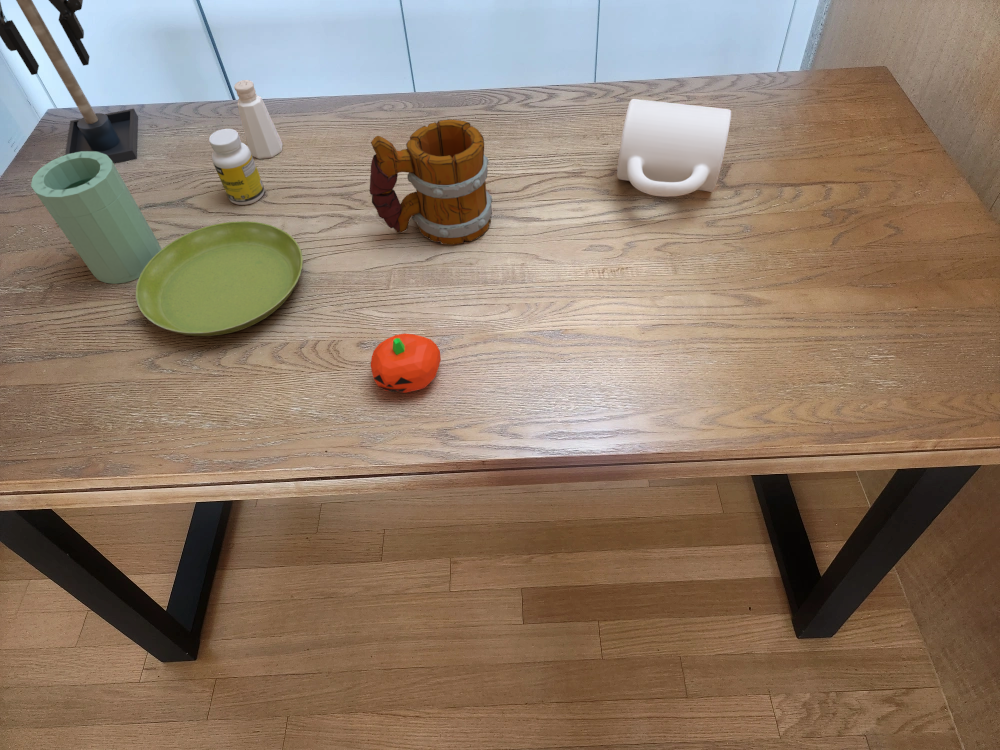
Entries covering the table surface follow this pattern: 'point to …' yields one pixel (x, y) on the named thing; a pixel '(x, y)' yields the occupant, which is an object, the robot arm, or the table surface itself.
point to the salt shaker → (257, 122)
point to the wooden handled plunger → (72, 85)
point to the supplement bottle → (236, 167)
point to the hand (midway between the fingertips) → (60, 65)
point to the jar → (97, 215)
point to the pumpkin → (405, 363)
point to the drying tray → (125, 129)
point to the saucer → (219, 278)
